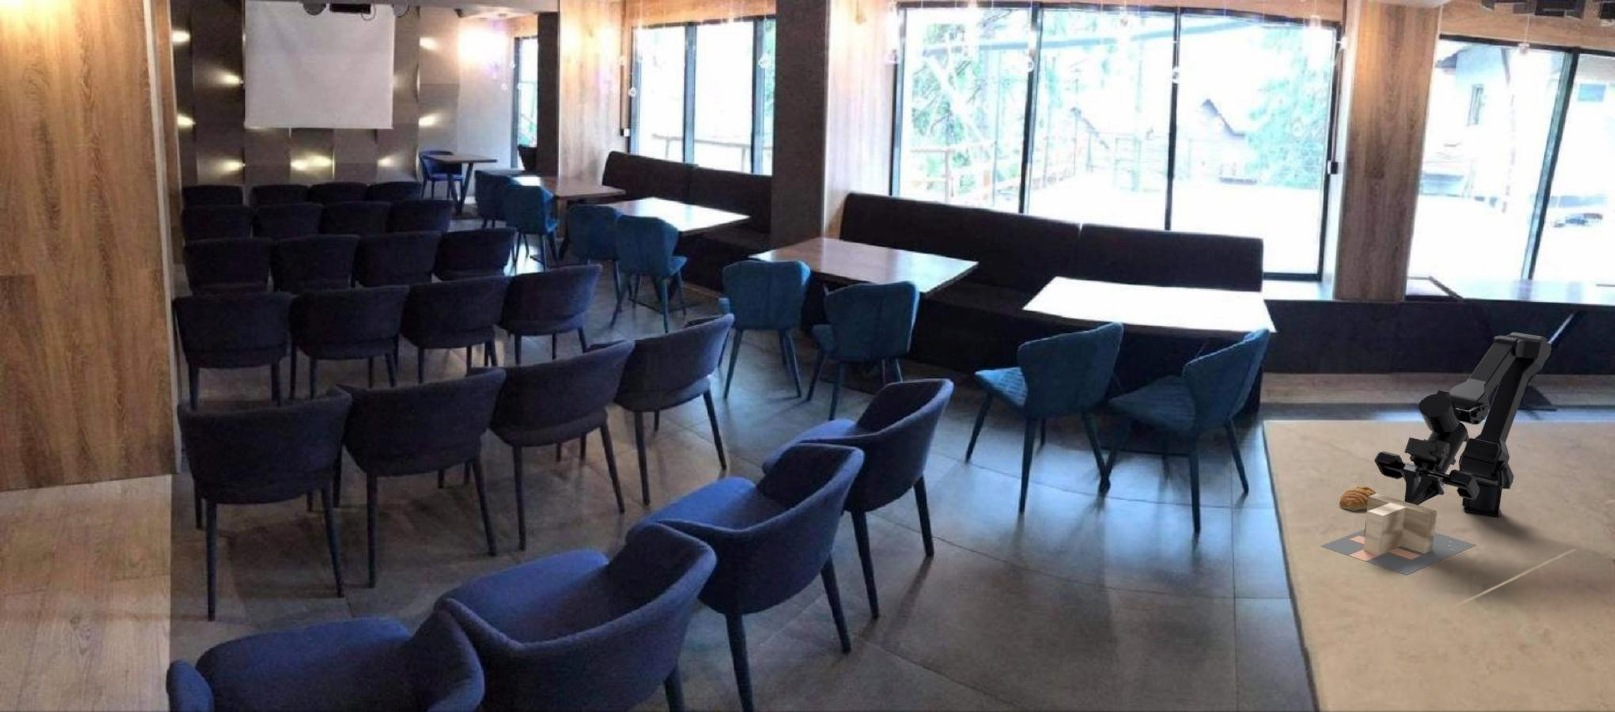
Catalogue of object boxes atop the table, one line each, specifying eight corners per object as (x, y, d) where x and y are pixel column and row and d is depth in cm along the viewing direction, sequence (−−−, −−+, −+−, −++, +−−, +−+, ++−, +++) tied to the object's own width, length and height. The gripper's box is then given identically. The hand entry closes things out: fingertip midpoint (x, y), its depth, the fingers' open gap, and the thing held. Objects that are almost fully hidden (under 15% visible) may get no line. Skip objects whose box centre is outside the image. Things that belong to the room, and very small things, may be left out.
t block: (1372, 531, 234) (1376, 493, 232) (1432, 550, 224) (1437, 510, 223) (1341, 543, 228) (1345, 504, 226) (1401, 562, 218) (1406, 522, 217)
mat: (1391, 521, 241) (1391, 519, 241) (1475, 546, 227) (1476, 544, 227) (1320, 547, 227) (1320, 545, 226) (1405, 577, 213) (1406, 574, 213)
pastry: (1362, 516, 244) (1363, 499, 243) (1330, 508, 249) (1331, 491, 248) (1381, 506, 250) (1383, 489, 249) (1349, 498, 255) (1351, 482, 254)
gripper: (1384, 412, 235) (1348, 474, 231) (1480, 434, 220) (1442, 500, 216) (1401, 443, 241) (1365, 504, 237) (1495, 466, 226) (1458, 531, 222)
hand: (1406, 509), depth 228 cm, fingers closed
